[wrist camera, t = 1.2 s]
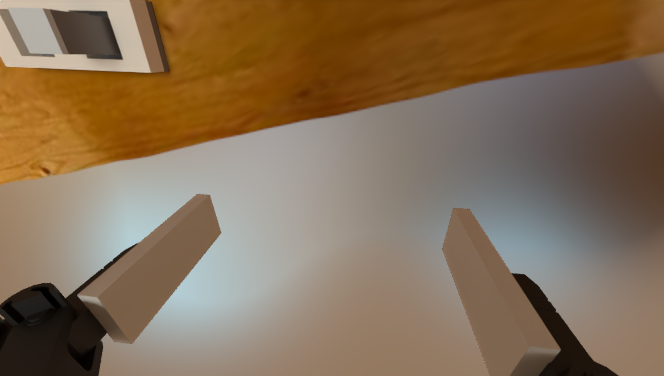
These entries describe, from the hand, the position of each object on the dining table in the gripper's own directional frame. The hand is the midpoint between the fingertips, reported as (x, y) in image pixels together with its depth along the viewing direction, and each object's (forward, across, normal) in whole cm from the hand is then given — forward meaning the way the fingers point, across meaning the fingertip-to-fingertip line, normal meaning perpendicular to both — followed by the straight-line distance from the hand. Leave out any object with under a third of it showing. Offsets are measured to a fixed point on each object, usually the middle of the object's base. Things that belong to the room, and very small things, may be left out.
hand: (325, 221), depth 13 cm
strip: (+25, -37, +11) cm, 46 cm away
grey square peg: (+24, -32, +10) cm, 41 cm away
